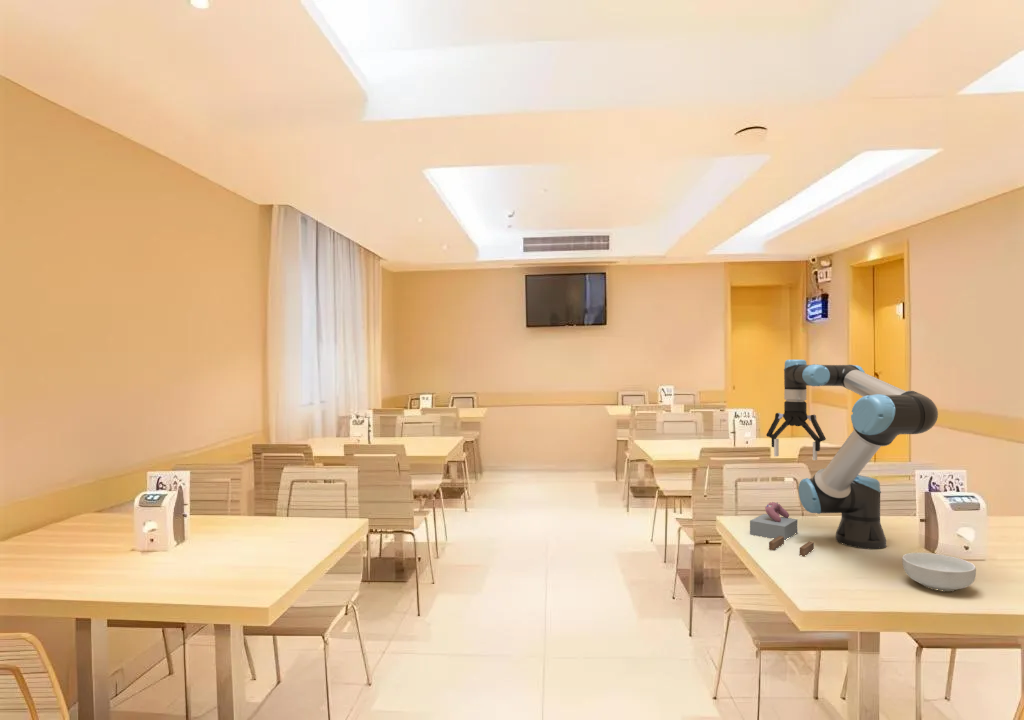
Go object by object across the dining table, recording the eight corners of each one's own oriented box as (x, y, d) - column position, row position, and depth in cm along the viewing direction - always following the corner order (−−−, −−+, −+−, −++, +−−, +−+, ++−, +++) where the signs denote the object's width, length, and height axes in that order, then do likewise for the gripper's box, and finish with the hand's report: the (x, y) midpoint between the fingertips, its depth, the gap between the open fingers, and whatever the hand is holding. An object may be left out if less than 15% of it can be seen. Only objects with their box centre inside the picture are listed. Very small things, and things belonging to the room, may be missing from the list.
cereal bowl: (906, 572, 180) (906, 548, 180) (977, 585, 169) (977, 559, 169) (898, 588, 167) (898, 562, 167) (974, 603, 156) (974, 575, 156)
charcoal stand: (797, 533, 222) (797, 519, 222) (784, 541, 211) (784, 526, 211) (763, 527, 230) (763, 513, 230) (749, 534, 219) (750, 520, 219)
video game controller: (779, 520, 226) (770, 502, 228) (790, 516, 223) (782, 498, 226) (769, 525, 219) (760, 506, 221) (781, 521, 216) (772, 502, 218)
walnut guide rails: (813, 549, 201) (813, 542, 201) (804, 556, 194) (804, 548, 194) (779, 543, 209) (779, 535, 209) (769, 549, 201) (769, 541, 201)
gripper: (834, 401, 221) (834, 460, 221) (764, 399, 238) (764, 453, 237) (829, 402, 215) (829, 462, 215) (757, 399, 232) (757, 455, 232)
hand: (795, 458), depth 226 cm, fingers open, 13 cm apart
